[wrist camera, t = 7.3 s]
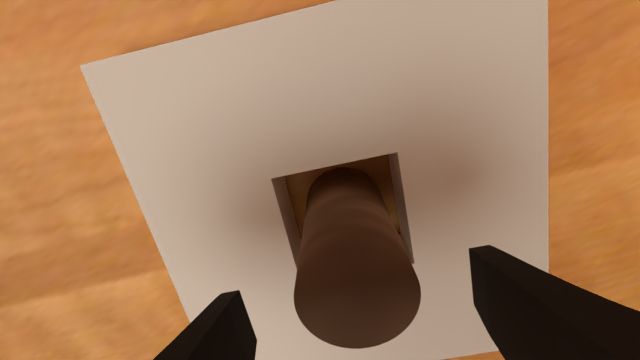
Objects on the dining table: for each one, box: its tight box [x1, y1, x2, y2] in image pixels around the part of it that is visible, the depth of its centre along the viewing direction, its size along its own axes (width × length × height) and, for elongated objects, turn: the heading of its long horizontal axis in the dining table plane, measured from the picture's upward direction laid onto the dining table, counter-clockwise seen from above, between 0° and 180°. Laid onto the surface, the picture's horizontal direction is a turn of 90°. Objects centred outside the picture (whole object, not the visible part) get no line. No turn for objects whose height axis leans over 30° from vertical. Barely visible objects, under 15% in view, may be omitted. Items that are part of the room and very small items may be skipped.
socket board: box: [79, 0, 549, 360], centre depth 16 cm, size 18×18×3 cm
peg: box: [294, 167, 421, 349], centre depth 14 cm, size 4×4×8 cm
